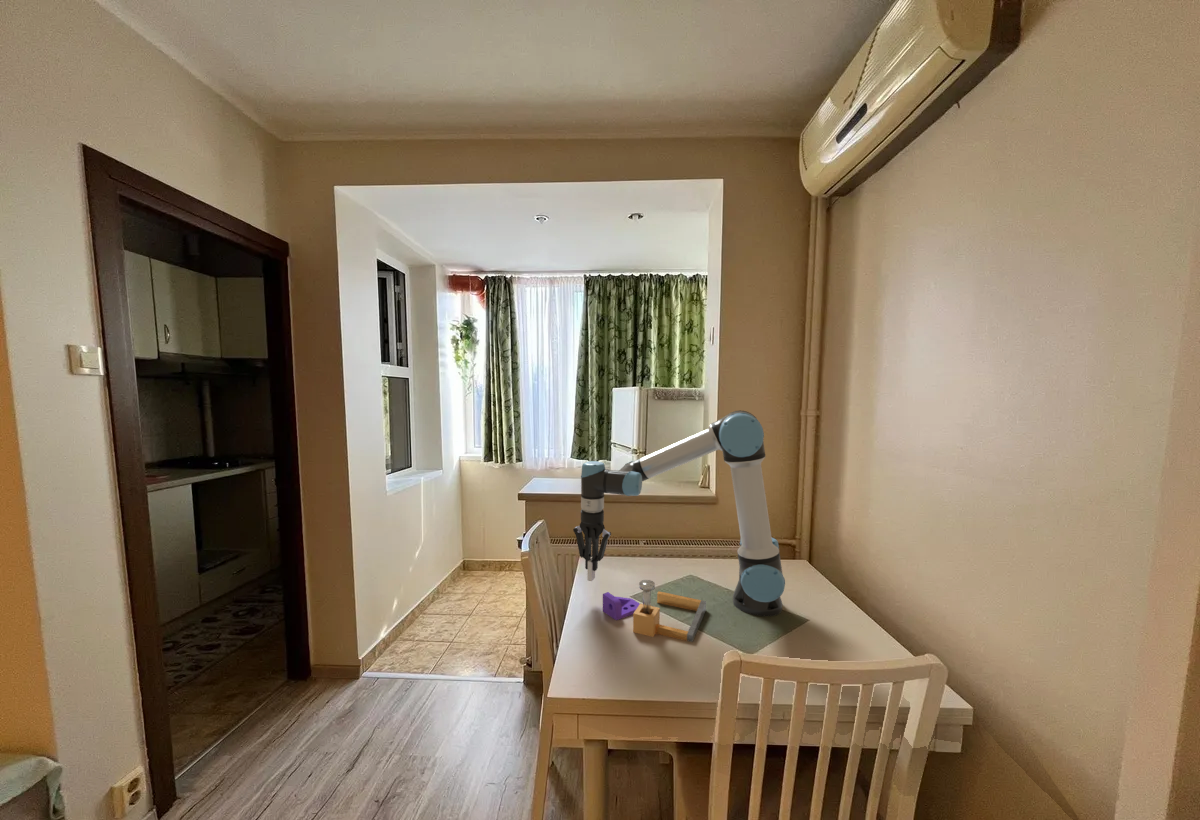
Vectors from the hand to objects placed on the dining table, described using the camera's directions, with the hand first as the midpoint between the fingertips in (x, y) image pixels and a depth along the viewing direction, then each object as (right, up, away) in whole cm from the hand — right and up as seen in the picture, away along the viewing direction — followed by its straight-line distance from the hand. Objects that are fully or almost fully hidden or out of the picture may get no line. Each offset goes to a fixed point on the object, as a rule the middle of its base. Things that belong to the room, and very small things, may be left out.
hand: (591, 579), depth 144 cm
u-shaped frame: (+25, -9, -11) cm, 28 cm away
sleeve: (+16, -9, -18) cm, 26 cm away
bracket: (+11, -9, -6) cm, 15 cm away
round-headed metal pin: (+16, -3, -18) cm, 25 cm away
